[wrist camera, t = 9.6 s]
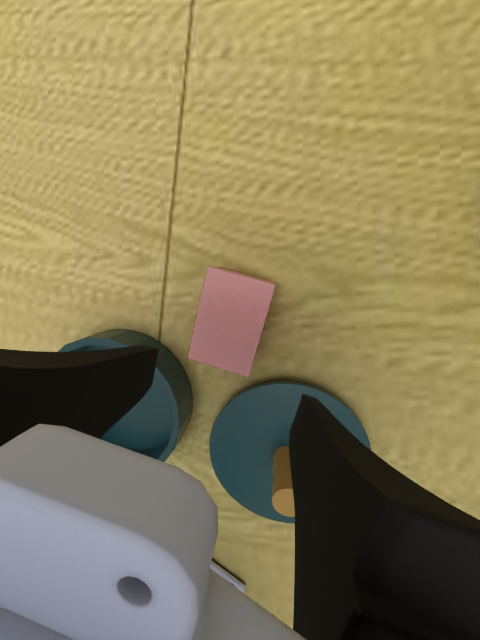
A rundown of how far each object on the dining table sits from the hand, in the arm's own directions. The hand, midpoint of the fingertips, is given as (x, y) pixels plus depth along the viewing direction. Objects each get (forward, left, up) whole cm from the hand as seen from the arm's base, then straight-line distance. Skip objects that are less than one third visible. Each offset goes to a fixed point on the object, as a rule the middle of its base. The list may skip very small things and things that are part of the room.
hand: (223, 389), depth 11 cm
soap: (+2, -1, -8) cm, 9 cm away
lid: (-8, +6, -8) cm, 13 cm away
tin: (+6, +11, -8) cm, 15 cm away
